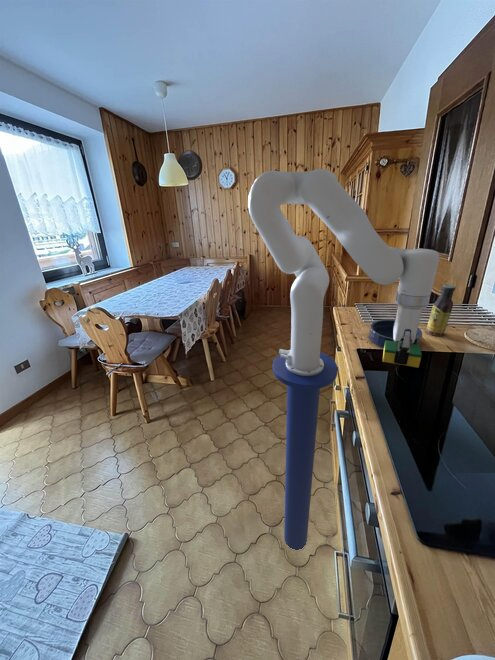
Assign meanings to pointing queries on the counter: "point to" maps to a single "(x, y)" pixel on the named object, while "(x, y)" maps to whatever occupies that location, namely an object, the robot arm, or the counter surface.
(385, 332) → the bowl
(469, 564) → the counter surface
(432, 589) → the counter surface
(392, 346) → the sponge
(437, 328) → the sauce bottle
